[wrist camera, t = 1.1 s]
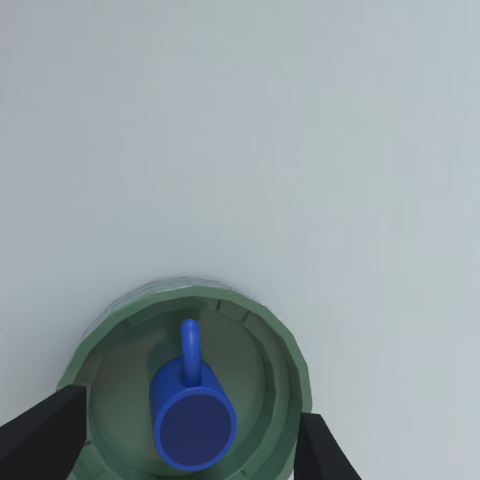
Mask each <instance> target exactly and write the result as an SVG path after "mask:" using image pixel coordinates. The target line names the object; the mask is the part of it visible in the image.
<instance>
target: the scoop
mask: <svg viewBox="0 0 480 480" xmlns="http://www.w3.org/2000/svg"><path fill="white" fill-rule="evenodd" d="M180 330H181V350H182V357H178V358H175V359H172V360H170V361H168V362H167V363H165V364H164V365H163V366H161V367H160V368H159V369H158V371H157V372H156V373H155V375H154V377H153V379H152V381H151V384H150V389H149V399H150V410H151V420H152V431H153V440H154V445H155V448H156V450H157V452H158V454H159V455H160V457H161V458H162V459H163V460H164V461H165V462H166V463H167V464H169V465H170V466H172V467H174V468H176V469H179V470H183V471H197V470H201V469H205V468H207V467H209V466H211V465H213V464H215V463H216V462H218V461H219V460H220V459H221V458H222V457H223V456H224V455H225V454H226V453H227V451H228V450H229V448H230V447H231V445H232V443H233V440H234V438H235V434H236V429H237V419H236V414H235V411H234V408H233V406H232V404H231V402H230V401H229V399H228V397H227V395H226V394H225V392H224V390H223V388H222V387H221V385H220V383H219V381H218V379H217V378H216V376H215V374H214V372H213V371H212V369H211V368H210V367H209V366H208V365H207V364H206V363H205V362H204V361H202V360H201V355H200V334H199V324H198V323H197V321H195V320H194V319H186V320H184V321H183V323H182V324H181V329H180Z"/></svg>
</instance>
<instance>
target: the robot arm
mask: <svg viewBox="0 0 480 480" xmlns="http://www.w3.org/2000/svg"><path fill="white" fill-rule="evenodd" d="M86 439H87V391H86V386H78V385H70V384H69V385H67V386H65V387H63V388H62V389H60V390H59V391H57V392H55V393H54V394H52V395H51V396H49V397H48V398H46V399H45V400H43V401H42V402H40V403H38V404H37V405H35V406H34V407H32V408H31V409H29V410H27V411H26V412H24V413H23V414H21V415H19V416H18V417H16V418H15V419H13V420H11V421H10V422H8V423H6V424H4V425H3V426H1V427H0V480H66V479H67V478H68V476H69V474H70V473H71V471H72V469H73V467H74V465H75V463H76V461H77V459H78V457H79V455H80V452H81V450H82V448H83V446H84V443H85V441H86ZM294 480H362V479H361V478H360V476H359V475H358V474H357V472H356V471H355V469H354V468H353V467H352V465H351V464H350V462H349V461H348V459H347V458H346V456H345V455H344V453H343V452H342V450H341V448H340V447H339V445H338V444H337V442H336V440H335V439H334V437H333V435H332V434H331V432H330V430H329V428H328V427H327V425H326V423H325V421H324V420H323V418H322V416H321V415H320V414H313V413H305V412H301V417H300V423H299V430H298V437H297V444H296V451H295V457H294Z"/></svg>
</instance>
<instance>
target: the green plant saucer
mask: <svg viewBox="0 0 480 480" xmlns="http://www.w3.org/2000/svg"><path fill="white" fill-rule="evenodd" d="M186 319H194V320H195V321H197V323H198V324H199V334H200V355H201V360H202V361H204V362H205V363H206V364H207V365H208V366H209V367H210V368H211V369H212V371H213V372H214V374H215V376H216V378H217V379H218V381H219V383H220V385H221V387H222V388H223V390H224V392H225V394H226V395H227V397H228V399H229V401H230V402H231V404H232V406H233V408H234V411H235V414H236V419H237V429H236V434H235V438H234V440H233V443H232V445H231V447H230V448H229V450H228V451H227V453H226V454H225V455H224V456H223V457H222V458H221V459H220V460H219V461H218V462H216V463H215V464H213V465H211V466H209V467H207V468H205V469H201V470H197V471H183V470H179V469H176V468H174V467H172V466H170V465H169V464H167V463H166V462H165V461H164V460H163V459H162V458H161V457H160V455H159V454H158V452H157V450H156V448H155V445H154V440H153V431H152V420H151V410H150V399H149V389H150V384H151V381H152V379H153V377H154V375H155V373H156V372H157V371H158V369H159V368H160V367H161V366H163V365H164V364H165V363H167V362H168V361H170V360H172V359H175V358H178V357H182V350H181V330H180V329H181V324H182V323H183V321H184V320H186ZM69 384H70V385H78V386H86V391H87V439H86V441H85V443H84V446H83V448H82V450H81V452H80V455H79V457H78V459H77V461H76V463H75V465H74V467H73V469H72V471H71V473H70V474H69V476H68V478H67V479H66V480H287V479H288V478H289V477H290V475H291V473H292V471H293V469H294V457H295V451H296V444H297V437H298V430H299V423H300V417H301V412H305V413H311V410H312V395H311V388H310V381H309V374H308V367H307V364H306V361H305V359H304V357H303V355H302V353H301V351H300V349H299V347H298V345H297V343H296V341H295V339H294V337H293V334H292V333H291V332H290V331H289V330H288V329H287V328H286V326H285V325H284V324H283V323H282V322H281V321H280V320H279V319H278V318H277V317H276V316H275V315H274V314H273V313H272V312H271V311H270V310H269V309H268V308H267V307H265V306H264V305H262V304H260V303H259V302H257V301H255V300H253V299H252V298H250V297H248V296H246V295H244V294H242V293H240V292H238V291H236V290H234V289H232V288H230V287H228V286H226V285H224V284H222V283H220V282H216V281H209V280H201V279H194V278H187V277H185V278H184V277H182V278H177V279H171V280H166V281H160V282H154V283H149V284H147V285H145V286H143V287H141V288H139V289H137V290H135V291H133V292H131V293H129V294H127V295H125V296H123V297H122V298H120V299H118V300H116V301H115V302H113V303H112V304H111V305H110V306H109V307H108V308H107V309H106V310H105V311H104V312H103V313H102V314H101V315H100V316H99V317H98V318H97V319H96V320H95V321H94V322H93V323H92V324H91V325H90V326H89V327H88V328H87V329H86V331H85V332H84V334H83V336H82V338H81V340H80V342H79V344H78V346H77V348H76V349H75V351H74V353H73V355H72V357H71V359H70V361H69V363H68V365H67V367H66V369H65V371H64V373H63V375H62V377H61V379H60V381H59V383H58V386H57V388H56V392H57V391H59V390H60V389H62V388H63V387H65V386H67V385H69Z"/></svg>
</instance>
